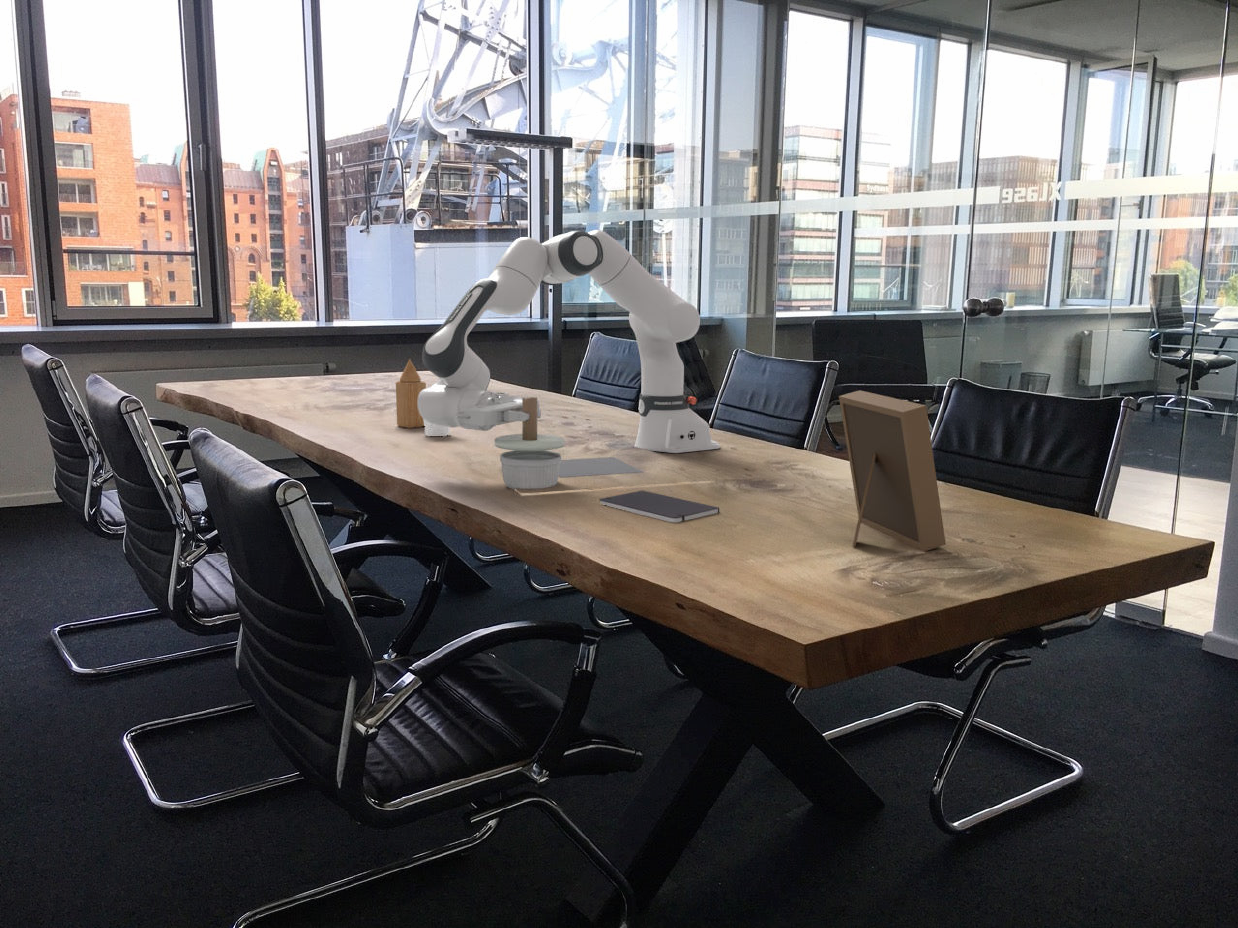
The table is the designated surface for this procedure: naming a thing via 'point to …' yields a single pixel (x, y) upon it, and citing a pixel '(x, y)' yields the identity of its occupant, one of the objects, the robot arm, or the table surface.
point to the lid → (529, 433)
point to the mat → (594, 467)
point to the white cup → (435, 429)
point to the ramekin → (530, 469)
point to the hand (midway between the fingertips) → (533, 415)
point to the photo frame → (893, 468)
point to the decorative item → (409, 398)
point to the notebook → (659, 506)
